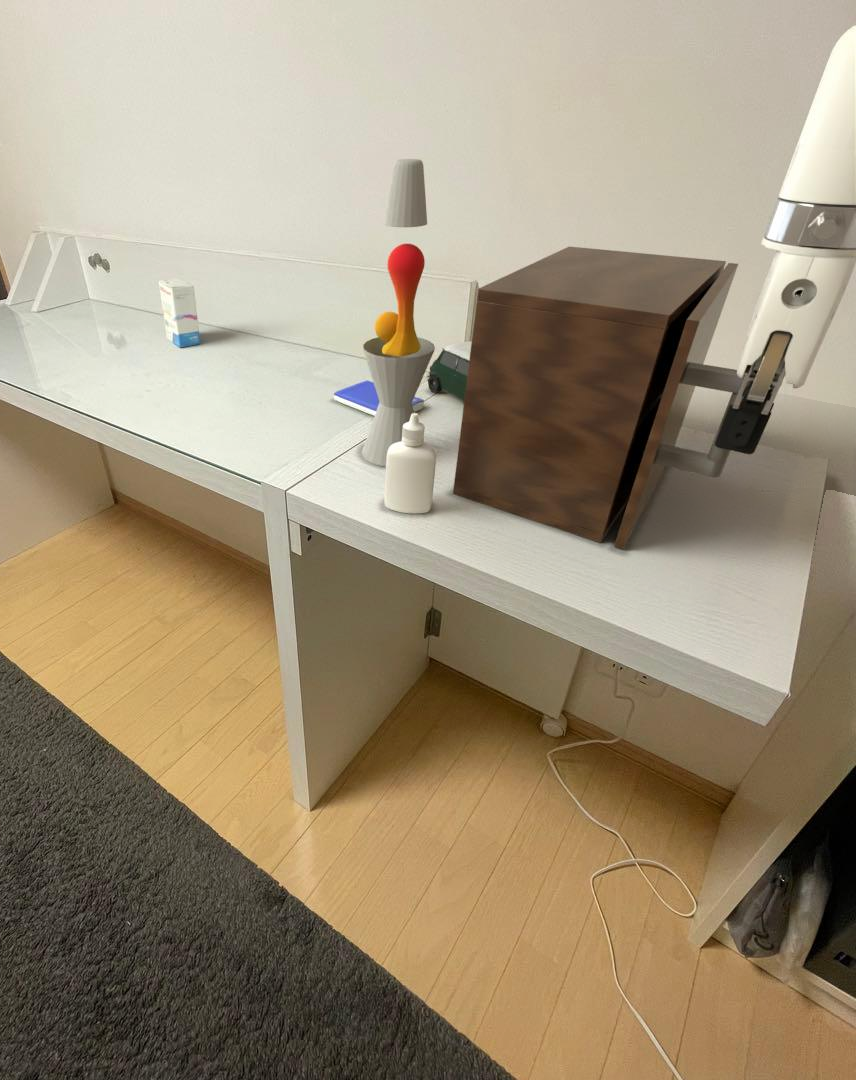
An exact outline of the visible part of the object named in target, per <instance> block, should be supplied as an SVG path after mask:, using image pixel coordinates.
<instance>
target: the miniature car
mask: <svg viewBox="0 0 856 1080" xmlns="http://www.w3.org/2000/svg"><path fill="white" fill-rule="evenodd" d="M471 344H472V340H471V341H470V340H469V341H464V342H462V341H461V342H456V343H452V344H450V345H447V346H444V347H442V350H441V352H440V354H439V355H438V357H437V358H436V359H435V360H433V361H432V364H431V365H430V366H429V373H428V375H426V379H427V384H428V389H429V390H430V392H431V393H438V392H442V391H443V390H444V391H446V392H447V393H449V394H451V395H452V396H455V397H456V398H459V399H461V400H462V401H464V400H465V392H466V384H467V376H468V368H469V360H470V352H471Z"/></svg>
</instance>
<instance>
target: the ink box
mask: <svg viewBox="0 0 856 1080" xmlns="http://www.w3.org/2000/svg"><path fill="white" fill-rule="evenodd" d="M158 287H159V293H160V300H161V308H162V314H163V315H162V316H163V322H164V328H165V335H166V336H165V337H166V339H168V340H169V341H170V342H172V343H173V344H174V345H175V346H177V347H178V348H185V347H190V346H197V345H200V344H201V337H200V328H199V327H200V326H199V319H198V311H197V301H196V293H195V287H194V285H193V284H191V283H189V282H188V281H185V280H184V279H181V278H172V279H169V278H168V279H161V280H158Z"/></svg>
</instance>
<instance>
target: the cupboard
mask: <svg viewBox="0 0 856 1080" xmlns="http://www.w3.org/2000/svg"><path fill="white" fill-rule="evenodd" d="M726 265H727V261H726V260H718V259H717V260H716V259H706V258H698V257H697V258H696V257H686V256H685V257H684V256H675V255H674V256H672V255H665V254H664V255H663V254H655V253H654V254H653V253H643V252H634V251H622V250H611V249H600V248H590V247H579V246H566V247H565V248H563V249H560V250H559V251H555V252H553V253H552V254H550V255H547V256H546V257H544V258H541V259H539V260H538V261H535V262H533V263H530V264H528V265H526V266H524V267H522V268H519V269H518V270H515V271H513V272H511V273H509V274H507V275H504V276H502V277H500V278H498V279H495V280H494V281H492V282H489V283H487V284H484V285H483V286H481V287H478V289H477V290H478V291H477V295H476V303H475V311H474V321H473V328H472V337H471V338H472V339H471V342H472V344H471V352H470V360H469V368H468V376H467V384H466V392H465V400H463V408H462V417H461V425H460V432H459V440H458V441H459V442H458V450H457V457H456V465H455V473H454V481H453V490H452V494H453V495H456V496H458V497H461V498H464V499H468V500H470V501H472V502H473V501H474V502H476V503H479V504H482V505H485V506H487V507H491V508H495V509H496V510H500V511H503V512H506V513H509V514H512V515H515V516H517V517H521V518H525V519H527V520H530V521H533V522H536V523H539V524H542V525H546V526H548V527H551V528H554V529H557V530H559V531H563V532H565V533H569V534H571V535H574V536H577V537H581V538H583V539H587V540H589V541H593V542H596V543H599V544H601V543H602V542H603V540H604V539H605V537H606V535H608V533H609V531H610V530H611V529H612V526H613V525H614V523H615V522H616V521H617V519H618V518H619V517H620V515H621V513H622V512H623V511H624V509H625V507H627V504H628V501H629V498H630V495H631V492H632V488H633V485H634V482H635V479H636V476H637V473H638V470H639V467H640V464H641V460H642V457H643V454H644V451H645V448H646V445H647V442H648V439H649V436H650V432H651V429H652V426H653V423H654V420H655V417H656V414H657V411H658V408H659V404H660V401H661V398H662V395H663V392H664V389H665V386H666V383H667V380H668V376H669V373H670V370H671V367H672V364H673V361H674V358H675V355H676V352H677V348H678V345H679V342H680V339H681V336H682V333H683V330H684V327H685V324H686V320H687V319H688V317H689V316H690V315H691V313H692V312H693V311H694V309H695V308H696V307H697V305H698V304H699V302H700V301H701V300H702V298H703V297H704V296H705V294H706V293H707V292H708V290H709V289H710V288H711V286H712V285H713V283H714V282H715V281H716V279H717V278H718V277H719V275H720V274H721V273H722V271H723V270H724V268H725V267H726Z"/></svg>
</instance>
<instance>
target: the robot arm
mask: <svg viewBox="0 0 856 1080" xmlns="http://www.w3.org/2000/svg"><path fill="white" fill-rule="evenodd" d="M760 245H761V246H762V247H764V248H766V249H769V250H772V251H775V253H774V255H773V259H772V262H771V265H770V266H769V269H768V272H767V275H766V278H765V280H764V283H763V286H762V289H761V291H760V294H759V297H758V300H757V302H756V304H755V308H754V311H753V313H752V317H751V320H750V323H749V326H748V329H747V332H746V336H745V339H744V343H743V346H742V351H741V354H740V357H739V361H738V365H737V369H736V370H737V373H736V374H737V375H738V377H739V378H740V379H742V378H743V382H742V384H741V387H740V389H739V392H738V394H737V397H736V399H735V402H734V404H733V405H730V406H729V408H728V411H727V414H726V416H725V419H724V421H723V424H722V426H721V429H720V431H719V434H718V436H717V439H716V442H715V446H716V447H718V448H722V449H726V450H731V451H730V452H736V453H741V454H746V455H753V454H755V452H756V450H757V448H758V445H759V443H760V441H761V438H762V437H763V434H764V431H765V429H766V427H767V425H768V423H769V420H770V418H771V416H772V410H773V408H774V405H775V399H776V397H777V395H778V393H779V390H780V389H781V387H782V385H783V381H784V379H785V384H788V385H792V389H799V388H801V387H803V386H804V385H805V383H806V381H807V378H808V376H809V373H810V371H811V369H812V367H813V365H814V362H815V360H816V357H817V355H818V353H819V351H820V348H821V347H822V344H823V342H824V339H825V337H826V335H827V333H828V331H829V328H830V327H831V324H832V322H833V320H834V317H835V315H836V313H837V311H838V308H839V306H840V304H841V301H842V299H843V297H844V294H845V292H846V290H847V287H848V285H849V282H850V279H851V277H852V274H853V272H854V268H855V266H856V24H855V25H853V26H852V27H850V28H848V29H847V30H846V31H845V32H844V33H843V34H842V35H841V36H840V38H839V39H838V40H837V42H836V43H835V45H834V46H833V48H832V50H831V52H830V55H829V58H828V59H827V62H826V65H825V68H824V70H823V73H822V76H821V78H820V81H819V84H818V87H817V89H816V92H815V95H814V98H813V100H812V103H811V105H810V109H809V111H808V114H807V117H806V119H805V122H804V125H803V127H802V130H801V133H800V136H799V138H798V141H797V143H796V146H795V150H794V152H793V155H792V158H791V160H790V163H789V166H788V169H787V171H786V174H785V177H784V180H783V183H782V185H781V187H780V191H779V194H778V198H776V201H775V204H774V206H773V210H772V213H771V215H770V218H769V221H768V223H767V226H766V229H765V231H764V234H763V238H762V240H761V242H760ZM751 372H753V373H751ZM755 373H757V374H755ZM743 376H744V377H743ZM748 384H752V386H748ZM743 398H744V399H743ZM742 399H743V401H742ZM740 405H741V406H740Z"/></svg>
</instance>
